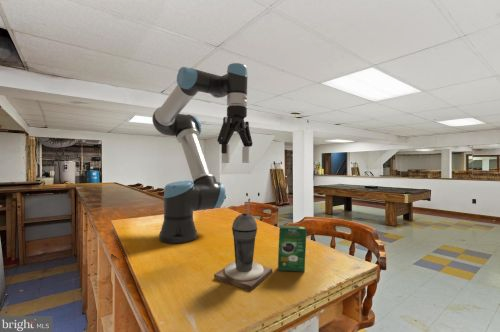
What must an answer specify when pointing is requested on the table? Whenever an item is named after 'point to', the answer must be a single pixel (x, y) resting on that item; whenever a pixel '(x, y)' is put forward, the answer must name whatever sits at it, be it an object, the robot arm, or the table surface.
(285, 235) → the coffee box
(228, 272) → the mount
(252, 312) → the table surface
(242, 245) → the beverage cup
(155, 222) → the table surface
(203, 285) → the table surface
